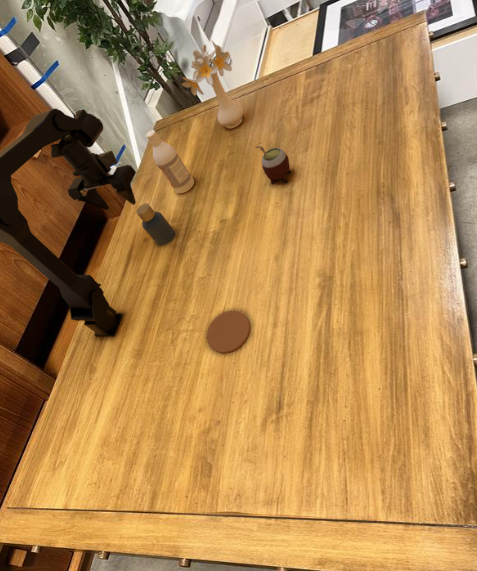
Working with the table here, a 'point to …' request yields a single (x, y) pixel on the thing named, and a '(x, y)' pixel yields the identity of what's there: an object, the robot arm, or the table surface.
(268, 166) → the mate gourd
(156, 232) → the bottle
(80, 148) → the robot arm
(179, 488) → the table surface
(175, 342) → the table surface
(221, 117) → the flower vase
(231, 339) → the coaster
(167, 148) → the bath foam
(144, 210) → the cap
